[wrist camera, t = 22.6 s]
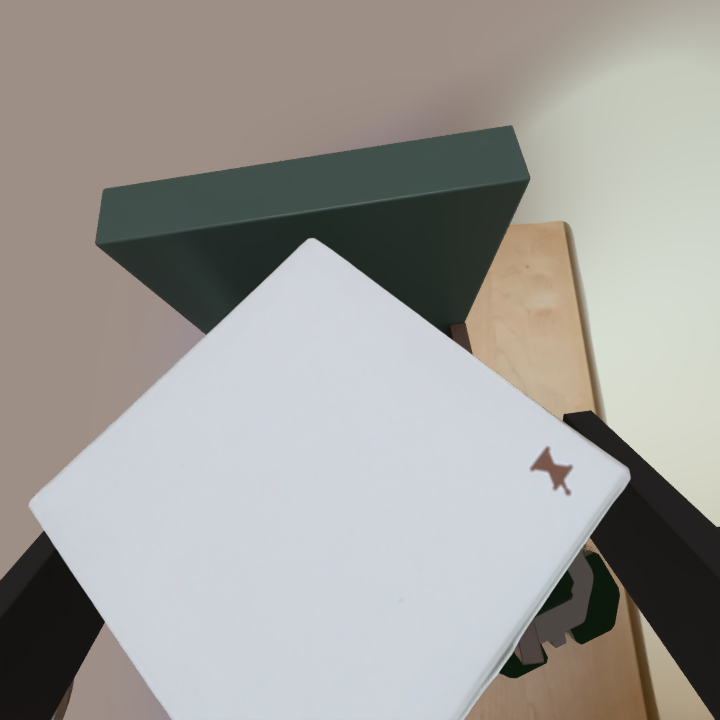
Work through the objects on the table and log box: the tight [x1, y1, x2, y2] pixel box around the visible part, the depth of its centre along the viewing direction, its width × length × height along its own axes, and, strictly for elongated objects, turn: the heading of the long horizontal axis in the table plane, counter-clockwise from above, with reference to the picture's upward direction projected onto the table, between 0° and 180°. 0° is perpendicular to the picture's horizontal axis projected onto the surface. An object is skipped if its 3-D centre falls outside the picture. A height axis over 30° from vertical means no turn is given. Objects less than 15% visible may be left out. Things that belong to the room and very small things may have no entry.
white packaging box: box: [29, 238, 631, 720], centre depth 12 cm, size 7×7×13 cm
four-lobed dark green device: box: [499, 544, 620, 678], centre depth 43 cm, size 18×18×5 cm
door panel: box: [95, 126, 530, 335], centre depth 31 cm, size 14×5×44 cm, turn 97°
